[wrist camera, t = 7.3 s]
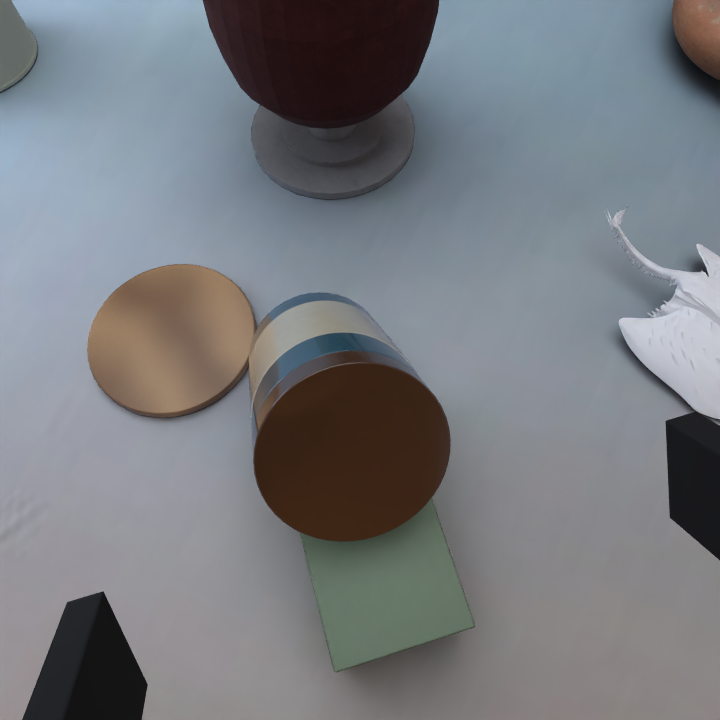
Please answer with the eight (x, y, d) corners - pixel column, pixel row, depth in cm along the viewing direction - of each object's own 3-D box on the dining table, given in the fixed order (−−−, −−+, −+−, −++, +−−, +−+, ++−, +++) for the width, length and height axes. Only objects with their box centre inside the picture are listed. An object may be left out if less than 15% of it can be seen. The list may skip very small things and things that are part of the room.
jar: (444, 538, 34) (487, 478, 21) (303, 582, 33) (260, 546, 20) (370, 323, 40) (369, 173, 27) (249, 356, 39) (188, 217, 26)
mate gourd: (208, 172, 45) (96, -143, 27) (291, 50, 50) (246, -284, 32) (403, 241, 42) (427, -60, 24) (470, 104, 47) (532, -230, 29)
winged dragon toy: (535, 285, 40) (551, 249, 37) (629, 200, 43) (654, 159, 39) (778, 483, 35) (827, 464, 31) (869, 370, 38) (924, 341, 34)
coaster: (184, 450, 36) (180, 446, 36) (57, 361, 39) (51, 356, 38) (289, 318, 40) (288, 312, 39) (166, 245, 42) (163, 238, 42)
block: (458, 628, 32) (475, 626, 27) (341, 666, 31) (334, 673, 26) (415, 499, 35) (423, 474, 29) (307, 532, 34) (295, 513, 29)
